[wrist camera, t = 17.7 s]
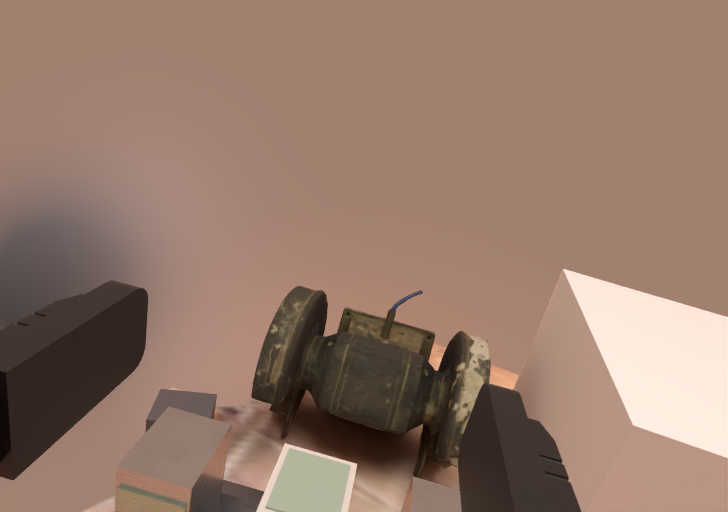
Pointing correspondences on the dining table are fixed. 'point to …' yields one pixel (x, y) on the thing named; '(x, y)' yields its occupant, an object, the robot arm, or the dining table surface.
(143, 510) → the rail
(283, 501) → the block
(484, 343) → the bench grinder
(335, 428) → the dining table surface
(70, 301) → the robot arm
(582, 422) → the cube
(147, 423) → the relay
